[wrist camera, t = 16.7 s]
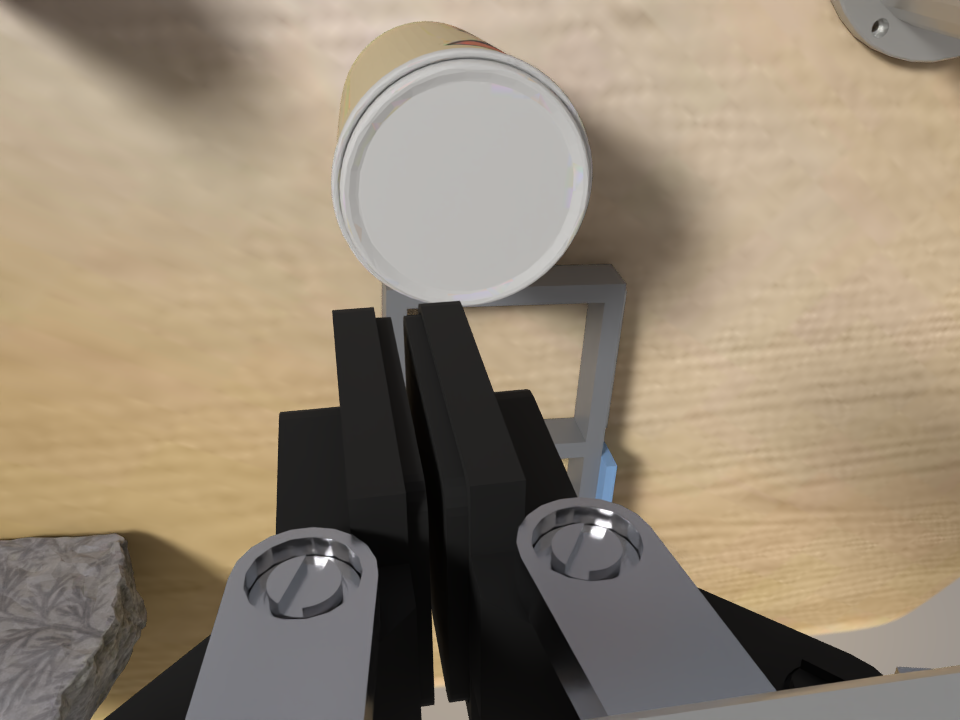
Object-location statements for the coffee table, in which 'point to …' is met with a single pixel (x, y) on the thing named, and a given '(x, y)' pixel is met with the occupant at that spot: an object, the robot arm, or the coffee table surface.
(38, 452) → the coffee table surface
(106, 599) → the decorative rock
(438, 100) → the cream lidded canister
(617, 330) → the divided sorting tray
